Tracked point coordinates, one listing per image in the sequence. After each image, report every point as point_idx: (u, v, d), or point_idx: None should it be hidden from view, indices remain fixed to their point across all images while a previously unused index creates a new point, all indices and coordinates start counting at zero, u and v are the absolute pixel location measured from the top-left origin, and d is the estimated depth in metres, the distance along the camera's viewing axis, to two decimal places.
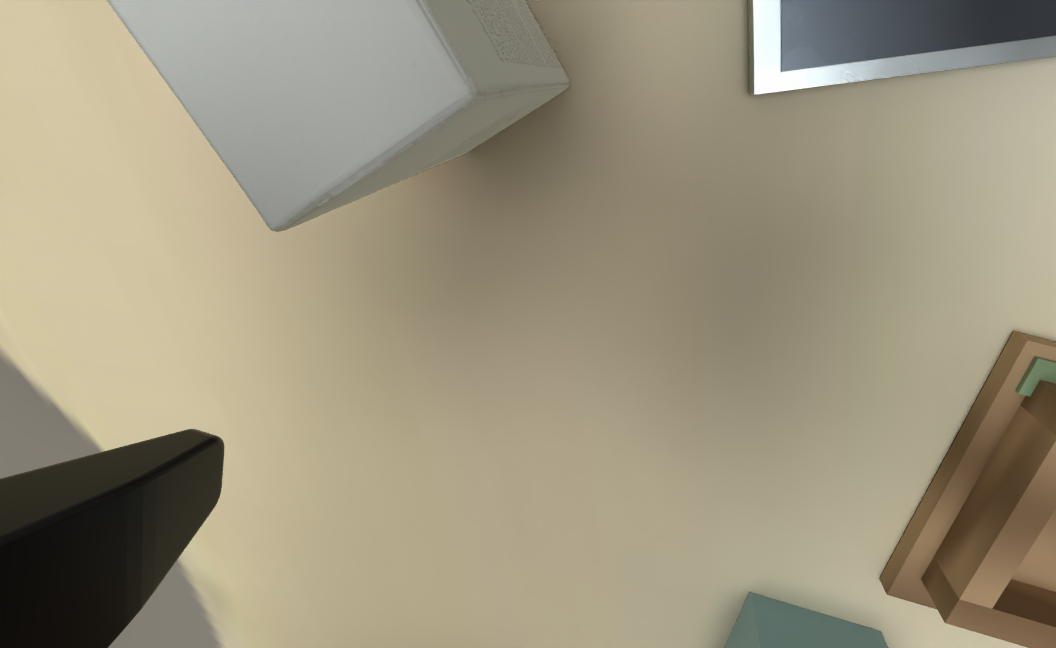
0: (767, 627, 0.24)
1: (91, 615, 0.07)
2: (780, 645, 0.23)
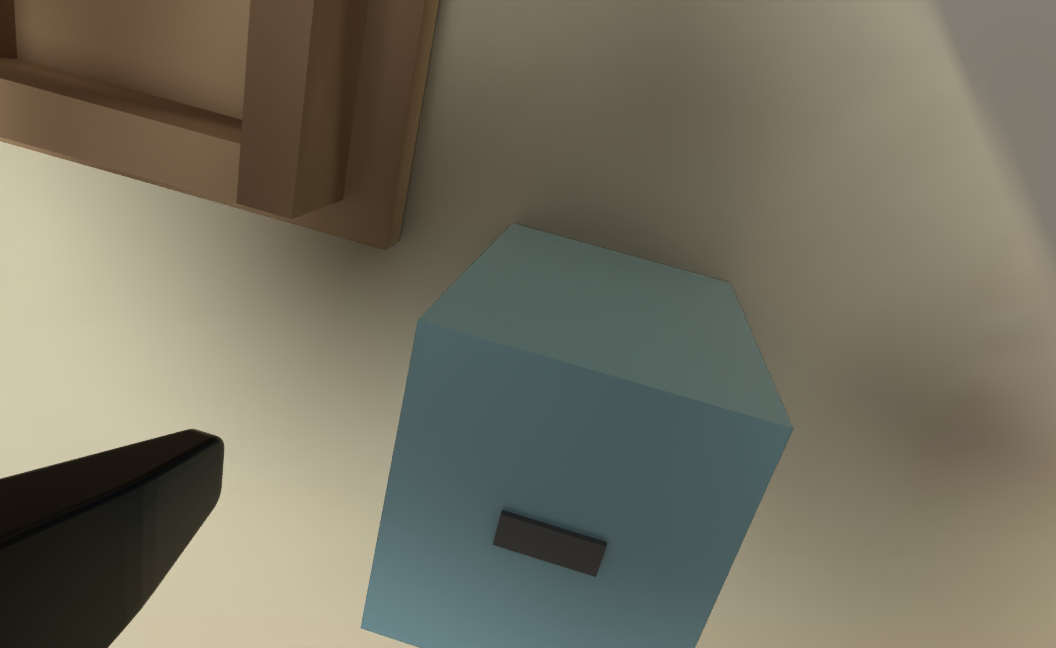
0: None
1: (91, 615, 0.07)
2: None
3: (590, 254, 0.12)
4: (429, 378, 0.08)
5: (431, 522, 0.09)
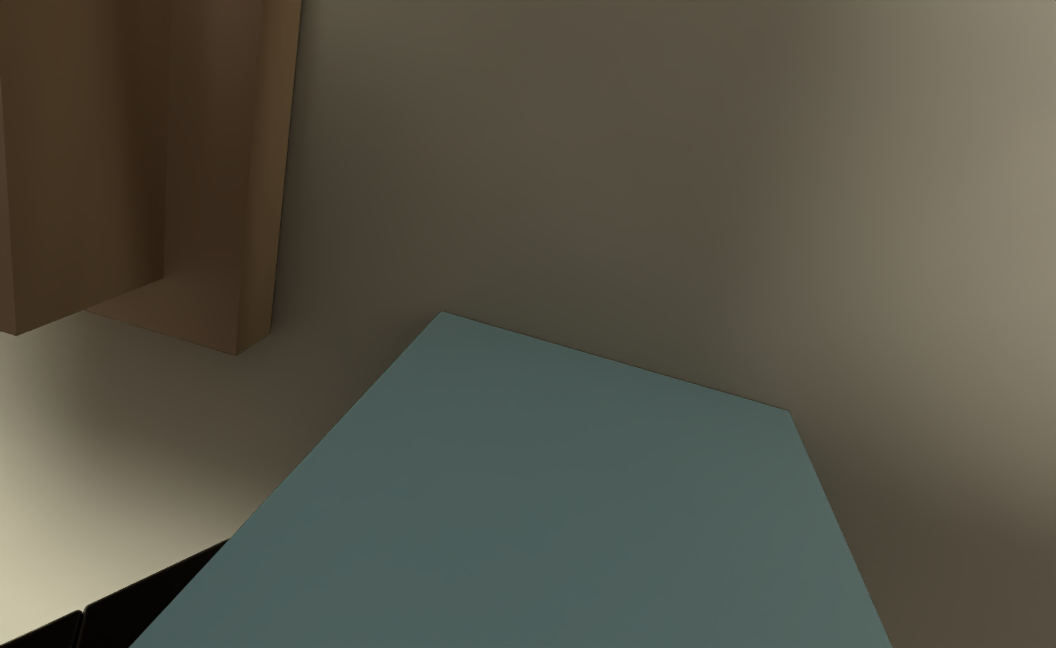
0: None
1: None
2: None
3: (560, 374, 0.08)
4: None
5: None
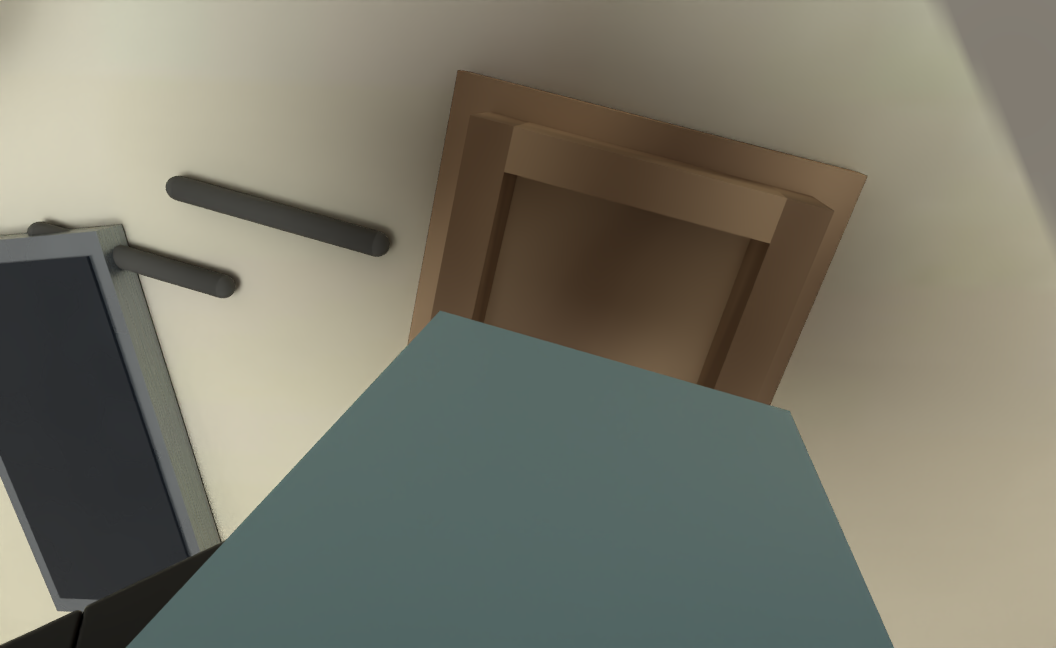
0: None
1: None
2: None
3: (560, 373, 0.07)
4: None
5: None
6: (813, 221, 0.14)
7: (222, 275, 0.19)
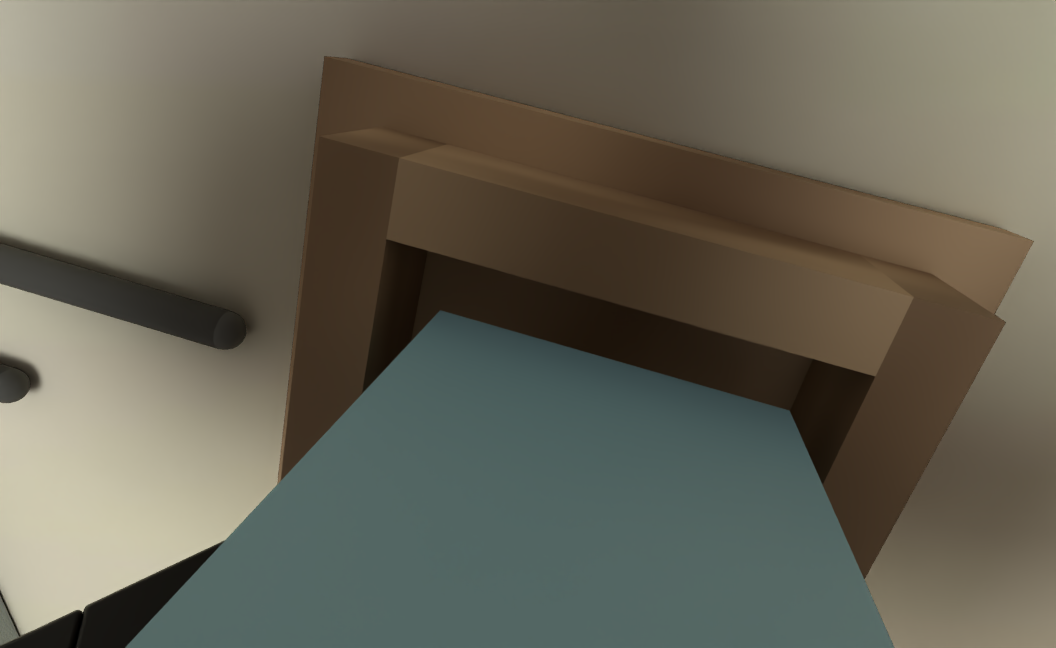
0: None
1: None
2: None
3: (560, 373, 0.07)
4: None
5: None
6: (962, 339, 0.07)
7: (5, 369, 0.13)
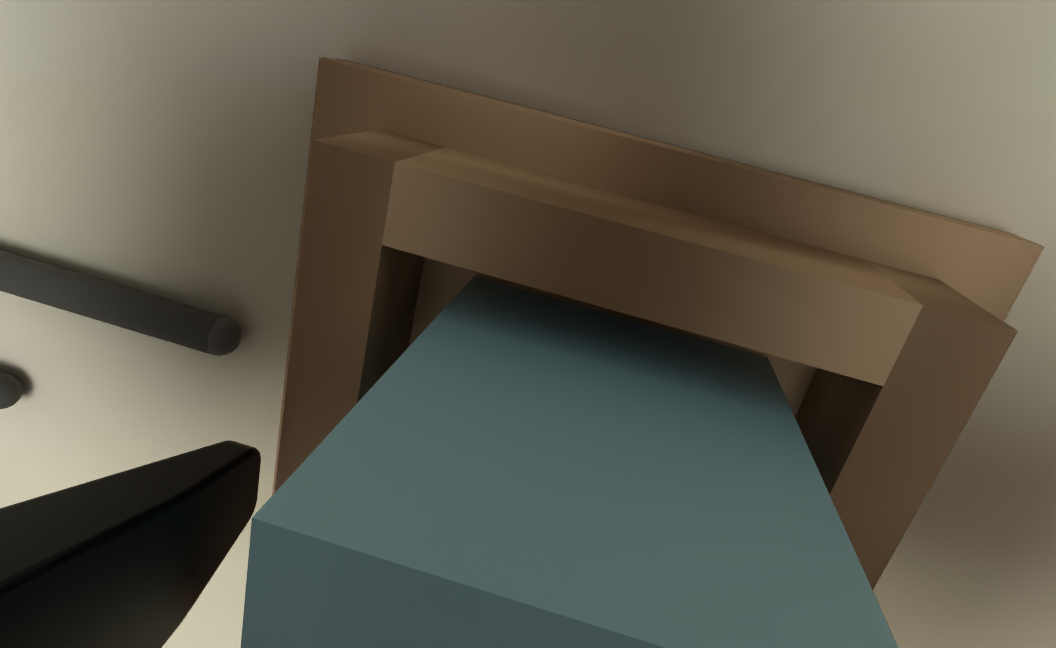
0: None
1: (135, 630, 0.07)
2: None
3: (576, 324, 0.09)
4: (280, 609, 0.05)
5: None
6: (972, 349, 0.07)
7: None
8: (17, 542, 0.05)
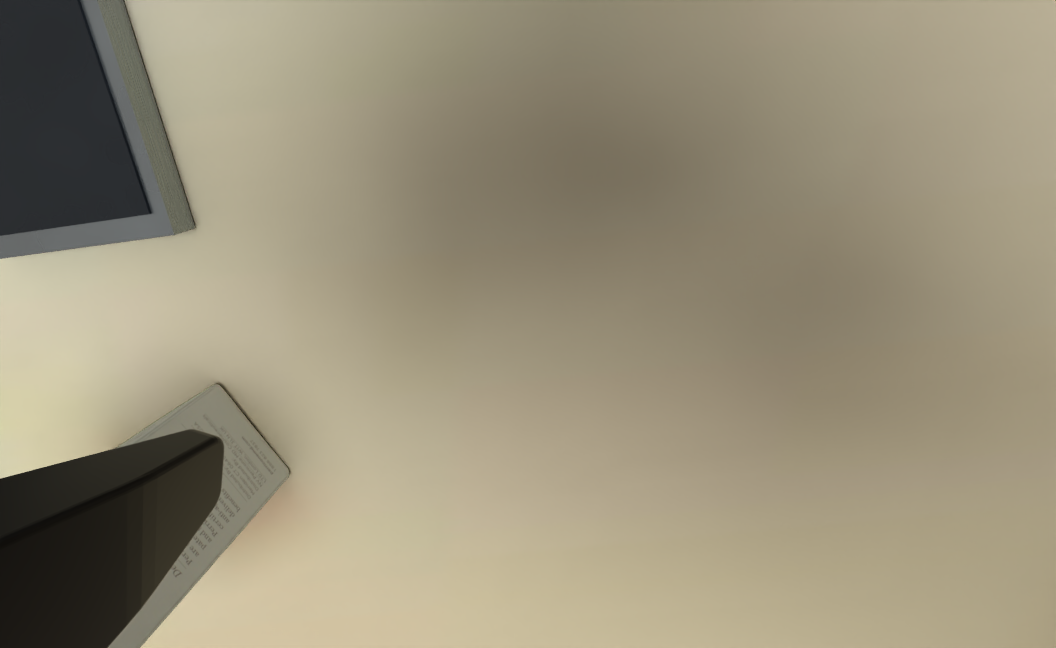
0: None
1: (91, 615, 0.07)
2: None
3: None
4: None
5: None
6: None
7: None
8: None
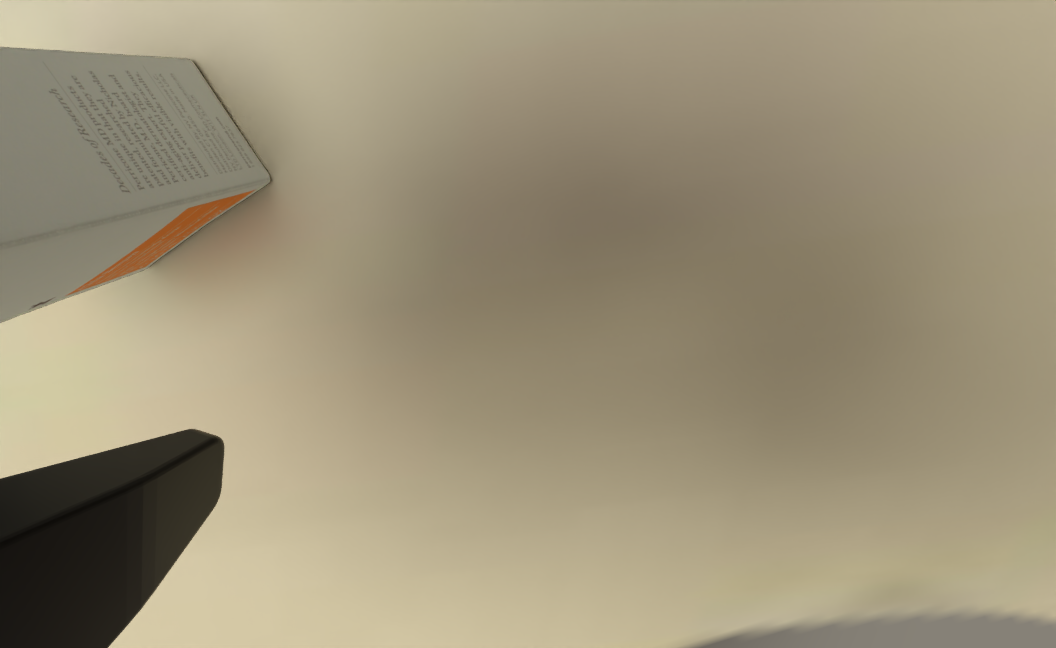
0: None
1: (91, 615, 0.07)
2: None
3: None
4: None
5: None
6: None
7: None
8: None
